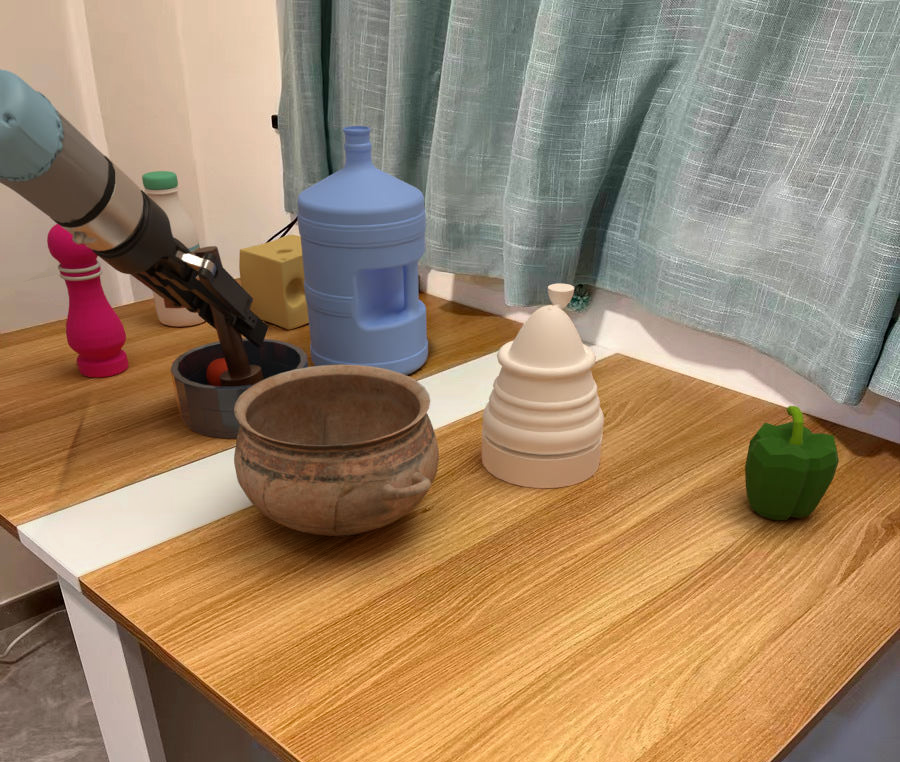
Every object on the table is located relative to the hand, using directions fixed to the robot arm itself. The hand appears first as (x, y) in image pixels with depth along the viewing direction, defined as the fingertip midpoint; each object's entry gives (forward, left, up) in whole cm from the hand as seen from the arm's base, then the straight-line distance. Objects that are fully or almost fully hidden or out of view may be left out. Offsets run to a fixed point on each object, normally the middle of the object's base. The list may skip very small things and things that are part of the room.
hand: (249, 333), depth 106 cm
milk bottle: (-11, +30, -8) cm, 33 cm away
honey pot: (+31, -22, -8) cm, 39 cm away
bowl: (-1, -4, -8) cm, 9 cm away
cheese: (+5, +29, -8) cm, 30 cm away
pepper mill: (-20, +12, -8) cm, 25 cm away
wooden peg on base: (-1, -4, -6) cm, 7 cm away
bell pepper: (+52, -36, -8) cm, 64 cm away
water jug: (+15, +9, -8) cm, 19 cm away
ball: (-4, 0, -5) cm, 6 cm away
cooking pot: (+9, -31, -8) cm, 33 cm away
